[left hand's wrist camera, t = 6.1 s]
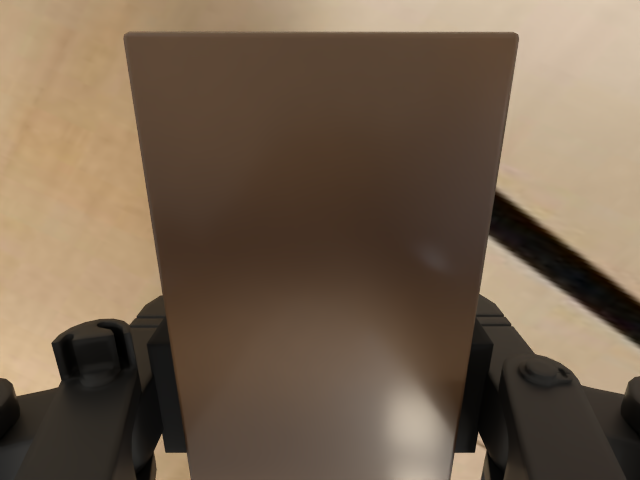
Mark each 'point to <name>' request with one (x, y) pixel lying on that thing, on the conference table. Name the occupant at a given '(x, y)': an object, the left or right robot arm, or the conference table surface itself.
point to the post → (320, 240)
